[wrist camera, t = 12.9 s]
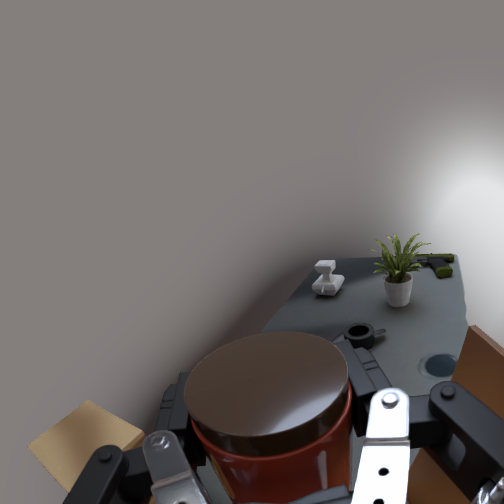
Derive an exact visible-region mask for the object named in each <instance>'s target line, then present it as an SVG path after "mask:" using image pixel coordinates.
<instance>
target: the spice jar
mask: <svg viewBox="0 0 504 504" xmlns="http://www.w3.org/2000/svg"><path fill="white" fill-rule="evenodd" d="M184 400H185V404H186V407H187V409H188V412H189V414H190V418H191V424H192V427H193V429H194V432H195V434H196V436H197V438H198V440H199V442H200V444H201V446H202V448H203V450H204V452H205V454H206V456H207V458H208V460H209V461H210V463H211V465H212V467H213V469H214V471H215V473H216V475H217V476H218V478H219V480H220V482H221V484H222V485H223V487H224V489H225V491H226V493H227V494H228V496H229V498H230V499H231V501H232V503H233V504H240V503H250V502H257V503H272V504H286V503H289V502H292V501H294V500H297V499H299V498H302V497H304V496H306V495H309V494H311V493H313V492H316V491H320V490H324V489H329V488H333V487H337V486H341V485H344V484H346V487H347V490H348V491H351V488H352V455H353V411H352V389H351V384H350V382H349V378H348V366H347V362H346V359H345V357H344V355H343V354H342V353H341V351H340V350H339V349H338V348H337V347H336V346H335V345H334V344H332V343H331V342H329V341H327V340H325V339H323V338H321V337H318V336H315V335H311V334H307V333H301V332H270V333H263V334H257V335H253V336H249V337H246V338H242V339H239V340H236V341H234V342H231V343H229V344H227V345H225V346H223V347H221V348H219V349H217V350H215V351H214V352H212V353H211V354H209V355H208V356H207V357H205V358H204V359H203V360H202V361H201V362H200V363H199V364H198V365H197V366H196V367H195V368H194V369H193V370H192V372H191V373H190V375H189V377H188V379H187V381H186V384H185V388H184Z"/></svg>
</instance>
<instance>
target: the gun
mask: <svg viewBox="0 0 504 504" xmlns="http://www.w3.org/2000/svg"><path fill="white" fill-rule="evenodd" d="M402 255H403V254H401V258H402ZM412 255H413V254H412ZM412 255H411V256H412ZM395 259H396V261H397V258H396V256H395ZM453 260H454V255H452V254H432V253H431V254H416V255H415V256H414V258H413V259H412V260H411V262H410V264H409V266H411V265H412V264H414V263H420V264H421V266H431V267H432V268H433V269H434V272H435V273H436V275H437V276H438V277H441V278H444V277H447V276H449V275H451V274H452V272H453V270H452V268H451V267H450V266H449V264H447V263H446V262H448V261H453ZM406 262H407V261H406ZM405 264H406V263H405ZM404 266H405V265H404Z"/></svg>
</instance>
